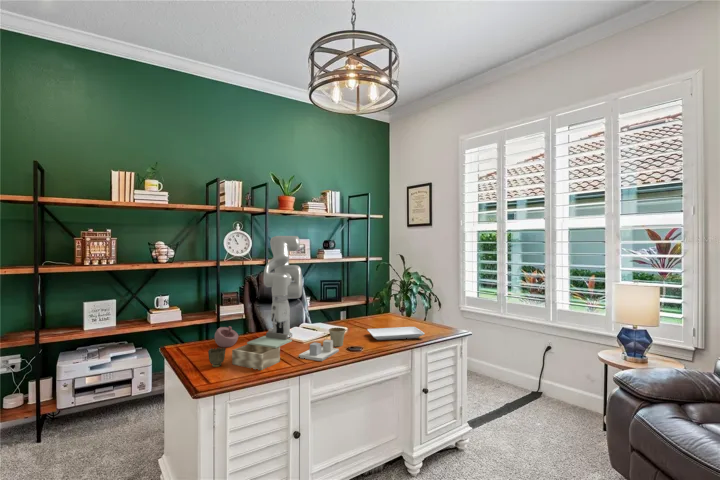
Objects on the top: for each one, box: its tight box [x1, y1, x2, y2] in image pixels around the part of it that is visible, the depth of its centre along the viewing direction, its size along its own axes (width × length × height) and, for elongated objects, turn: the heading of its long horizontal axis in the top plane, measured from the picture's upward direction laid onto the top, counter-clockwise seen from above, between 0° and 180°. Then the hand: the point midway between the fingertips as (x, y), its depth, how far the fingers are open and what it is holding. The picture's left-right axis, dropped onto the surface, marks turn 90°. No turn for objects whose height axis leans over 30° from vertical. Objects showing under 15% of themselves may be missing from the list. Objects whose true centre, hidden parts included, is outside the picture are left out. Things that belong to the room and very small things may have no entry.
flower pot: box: [328, 327, 347, 348], centre depth 201 cm, size 9×9×9 cm
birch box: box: [231, 343, 281, 371], centre depth 172 cm, size 17×13×7 cm
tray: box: [366, 326, 425, 341], centre depth 221 cm, size 17×31×4 cm, turn 102°
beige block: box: [322, 339, 334, 352], centre depth 188 cm, size 4×4×5 cm
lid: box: [246, 331, 293, 348], centre depth 180 cm, size 17×13×3 cm
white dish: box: [298, 345, 340, 362], centre depth 185 cm, size 13×17×1 cm
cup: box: [207, 346, 227, 368], centre depth 167 cm, size 8×7×8 cm
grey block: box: [309, 341, 322, 356], centre depth 183 cm, size 4×4×5 cm
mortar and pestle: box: [214, 325, 239, 348], centre depth 198 cm, size 12×12×12 cm
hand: (280, 334), depth 188 cm, fingers closed
